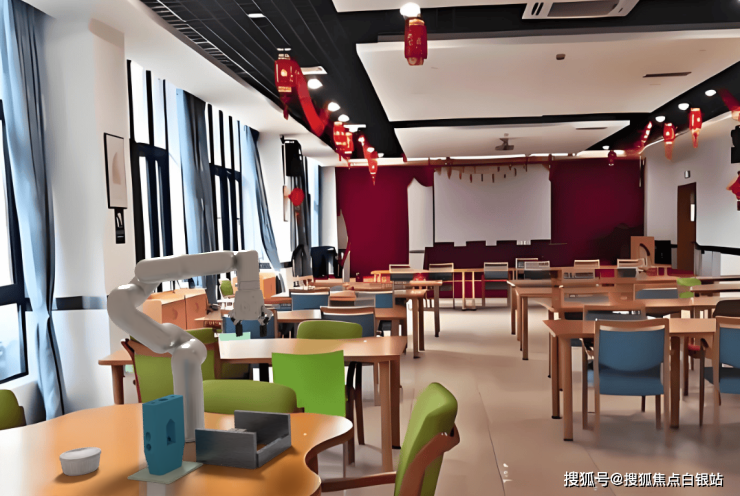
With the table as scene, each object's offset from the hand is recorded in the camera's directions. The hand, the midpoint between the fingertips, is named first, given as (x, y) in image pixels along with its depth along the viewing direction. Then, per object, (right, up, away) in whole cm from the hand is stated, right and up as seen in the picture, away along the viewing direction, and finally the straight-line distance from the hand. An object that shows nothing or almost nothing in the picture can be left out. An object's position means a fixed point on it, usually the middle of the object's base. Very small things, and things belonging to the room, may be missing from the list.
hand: (251, 336), depth 211 cm
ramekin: (-44, -35, -30) cm, 64 cm away
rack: (+2, -33, -21) cm, 39 cm away
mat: (-18, -34, -34) cm, 51 cm away
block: (-18, -34, -34) cm, 51 cm away
